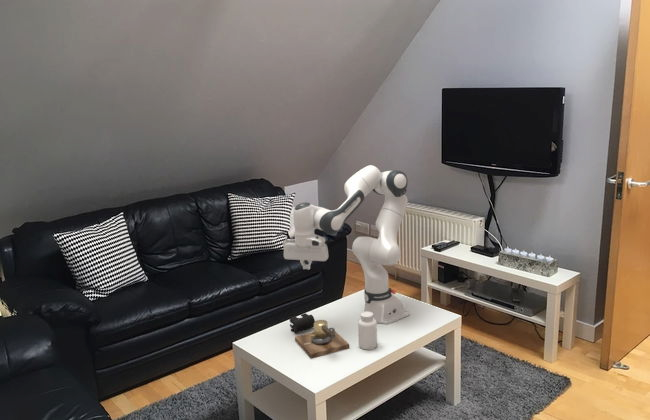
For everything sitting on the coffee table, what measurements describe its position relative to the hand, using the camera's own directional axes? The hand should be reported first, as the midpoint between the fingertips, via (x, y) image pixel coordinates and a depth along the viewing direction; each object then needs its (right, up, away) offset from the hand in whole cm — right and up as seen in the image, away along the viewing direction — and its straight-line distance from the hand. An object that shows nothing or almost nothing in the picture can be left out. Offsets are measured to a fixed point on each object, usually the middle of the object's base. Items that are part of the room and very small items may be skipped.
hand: (306, 268), depth 253 cm
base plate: (+7, -33, -6) cm, 34 cm away
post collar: (+7, -31, -6) cm, 32 cm away
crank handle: (+9, -29, -11) cm, 32 cm away
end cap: (-2, -30, +9) cm, 31 cm away
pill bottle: (+27, -33, -9) cm, 43 cm away
